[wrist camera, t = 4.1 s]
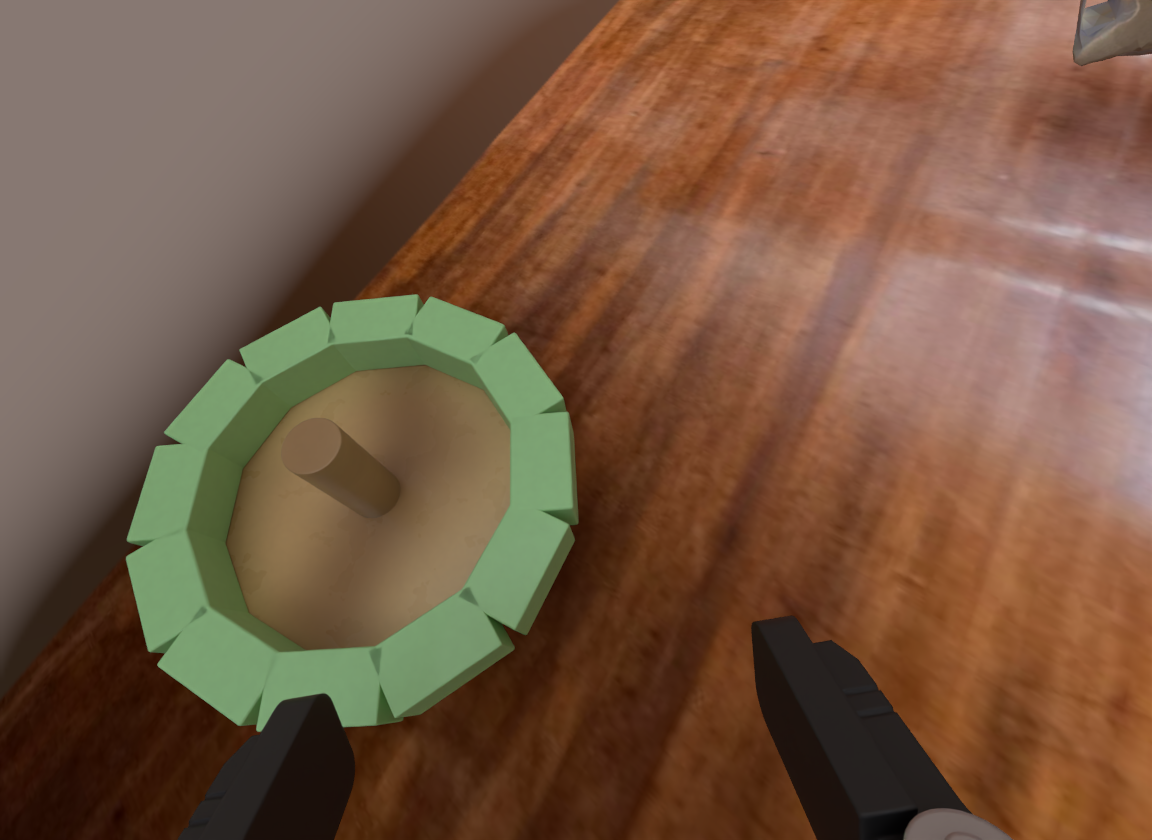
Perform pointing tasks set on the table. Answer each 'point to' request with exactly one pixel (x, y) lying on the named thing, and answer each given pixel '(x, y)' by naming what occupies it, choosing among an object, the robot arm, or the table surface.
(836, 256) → the table surface
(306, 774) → the robot arm
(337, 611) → the stand
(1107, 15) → the wood carving
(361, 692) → the ring
